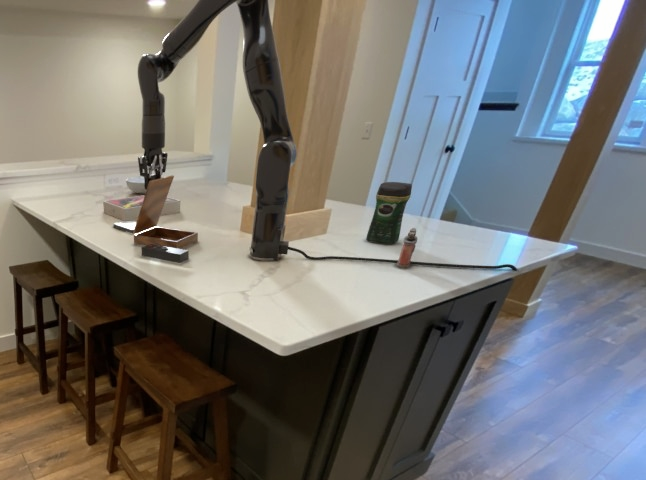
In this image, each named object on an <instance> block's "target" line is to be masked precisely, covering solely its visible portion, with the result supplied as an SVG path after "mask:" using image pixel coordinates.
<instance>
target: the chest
mask: <svg viewBox="0 0 646 480" xmlns="http://www.w3.org/2000/svg"><path fill="white" fill-rule="evenodd" d="M198 239H199V232H196V231H190V230H182V229H175V228H171V227H170V228H169V227H163V226H162V227H161V226H155V227H152V228H150V229H148V230H145V231H142V232H139V233H136V234H133V244H135V245H140V246H147V245H149V244H154V245H160V246H165V247H171V248H177V249H184V248H186V247H188V246H189V247H190V245H194V244H195V243H198V241H199V240H198Z"/></svg>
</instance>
